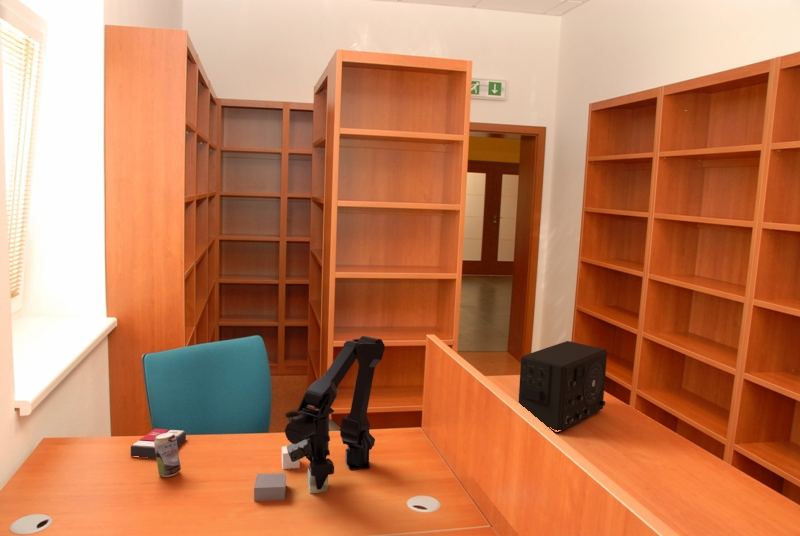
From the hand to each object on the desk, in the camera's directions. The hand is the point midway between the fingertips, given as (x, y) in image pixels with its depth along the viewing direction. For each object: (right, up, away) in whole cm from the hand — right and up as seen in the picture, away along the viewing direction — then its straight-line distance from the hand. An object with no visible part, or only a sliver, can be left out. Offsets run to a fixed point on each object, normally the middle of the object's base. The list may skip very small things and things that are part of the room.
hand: (317, 484), depth 171 cm
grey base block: (-13, -1, -3) cm, 13 cm away
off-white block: (-10, +1, +14) cm, 17 cm away
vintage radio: (+85, +4, +59) cm, 103 cm away
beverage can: (-44, +1, +5) cm, 44 cm away
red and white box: (-53, +3, +23) cm, 58 cm away
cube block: (0, -1, 0) cm, 1 cm away
